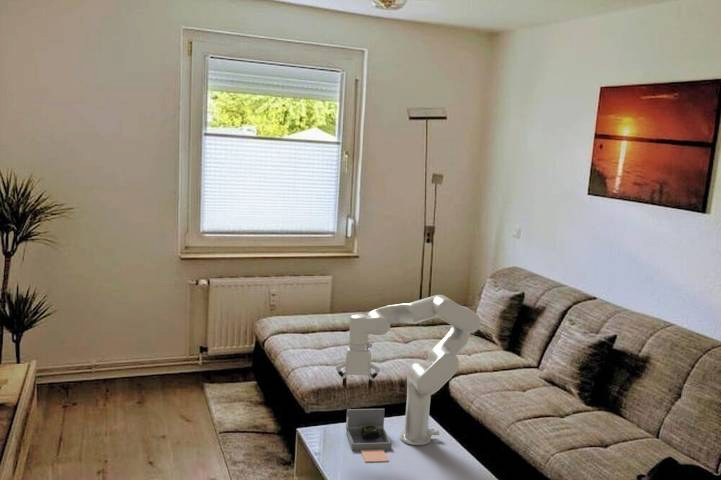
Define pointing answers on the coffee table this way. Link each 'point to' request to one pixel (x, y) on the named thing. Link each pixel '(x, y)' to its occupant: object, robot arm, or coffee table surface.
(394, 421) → the coffee table surface
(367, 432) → the tape measure
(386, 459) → the mat
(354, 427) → the case
